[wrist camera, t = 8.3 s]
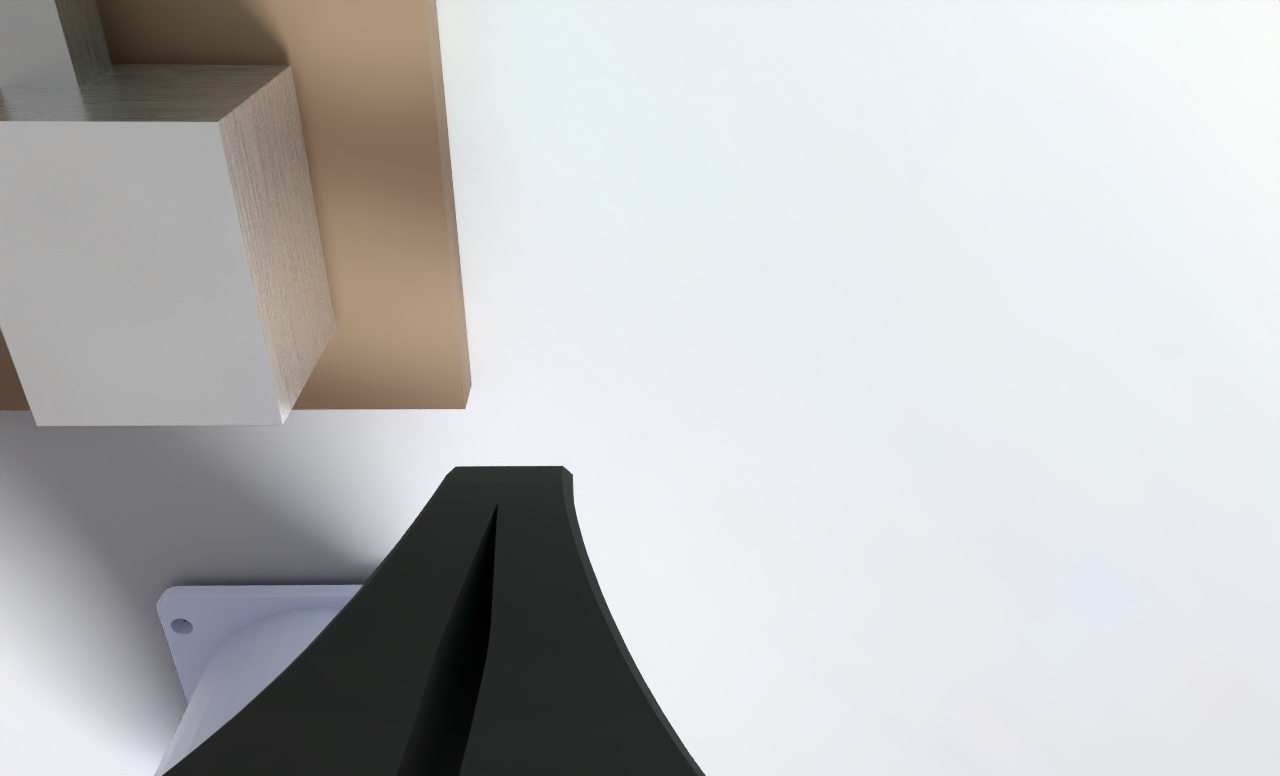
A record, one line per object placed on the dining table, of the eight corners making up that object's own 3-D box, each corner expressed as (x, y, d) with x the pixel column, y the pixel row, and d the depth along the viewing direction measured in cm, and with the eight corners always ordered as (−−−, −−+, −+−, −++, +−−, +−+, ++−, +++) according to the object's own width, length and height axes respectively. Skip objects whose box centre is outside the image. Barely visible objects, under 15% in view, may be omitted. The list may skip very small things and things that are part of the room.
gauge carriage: (335, 328, 19) (282, 425, 16) (129, 327, 19) (37, 426, 16) (244, -213, 14) (144, -220, 11) (-30, -216, 14) (-203, -223, 11)
